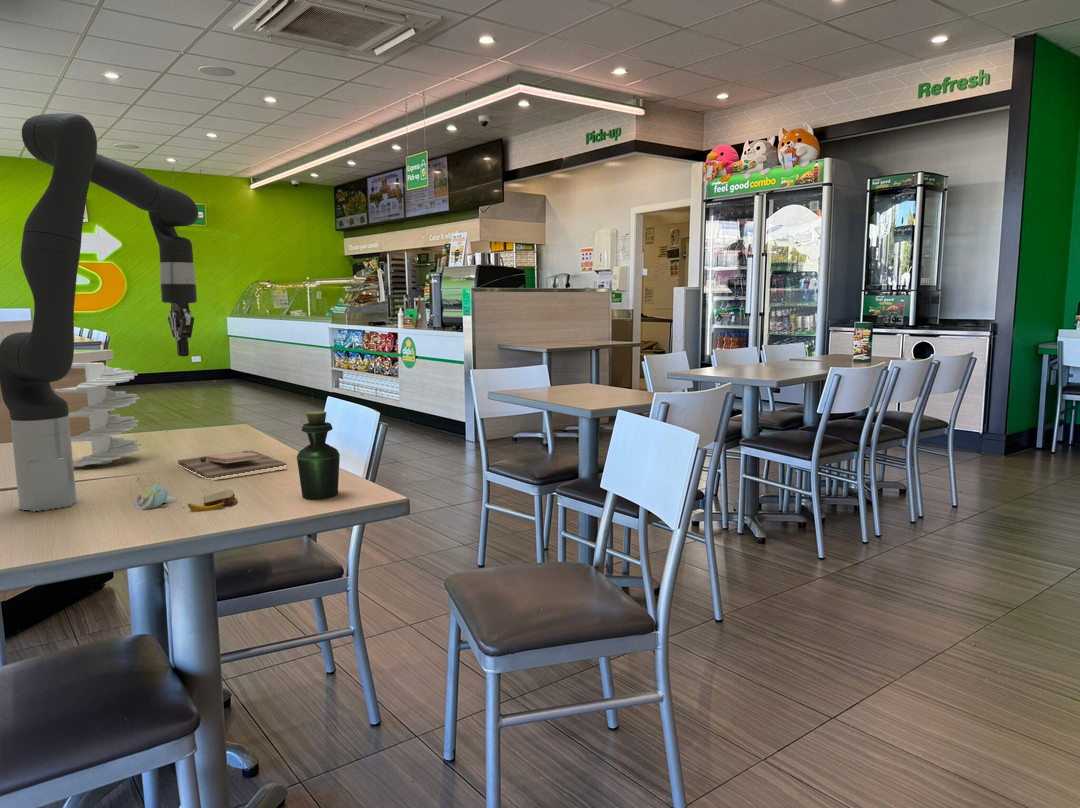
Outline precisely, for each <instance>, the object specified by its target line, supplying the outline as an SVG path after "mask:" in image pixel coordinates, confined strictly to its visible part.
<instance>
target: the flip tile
mask: <svg viewBox="0 0 1080 808" xmlns="http://www.w3.org/2000/svg"><path fill="white" fill-rule="evenodd" d="M237 452H238V453H235V452H230V454H228V453H222V454H223V455H220V454H215V456H213V455H207V456H208V457H207V458H208V461H213V462H220V463H232V462H239V461H246V460H253V459H260V458H261V455H260V454H254V453H245V452H242V451H237Z"/></svg>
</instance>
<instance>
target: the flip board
mask: <svg viewBox="0 0 1080 808" xmlns="http://www.w3.org/2000/svg"><path fill="white" fill-rule="evenodd" d="M238 452H239V451H237V452H236V451H235V452H234V453H238ZM241 452H245V453H254V454H260V455H261V458H260V459H253V460H246V461H239V462H232V463H220V462H213V461H208V458H207V457H208V456H209V455H207V456H205V455H204V456H198V457H191V458H185V459H177V463H178V464H179V465H181V466H183V467H185V468H187V469H189V470H191V471H193V472H196V473H197V474H200V475H201V476H204V477H206V478H215V477H221V476H226V475H233V474H239V473H245V472H250V471H255V470H261V469H267V468H273V467H279V466H284V465H287V466H288V463H286V462H284V461H281V460H278V459H277V458H273V457H271V456H268V455H266V454H263V453H260V452H258V451H256V450H243V451H241ZM230 453H231V452H230ZM230 453H227V454H230ZM223 454H224V453H222V454H219V455H223ZM215 455H216V454H215ZM215 455H212V456H215Z"/></svg>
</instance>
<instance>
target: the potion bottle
mask: <svg viewBox="0 0 1080 808" xmlns="http://www.w3.org/2000/svg"><path fill="white" fill-rule="evenodd" d="M327 413H328V412H327V411H326V410H325V411H324V410H323V411H321V410H315V411H314V410H312V411H307V412H306V413H305V414H306V418H307V421H308V422H307V423H304V424H302V427H301V432H302V433H306V434H307V438H308V441H309V444H308V445H307V446H305V447H304V448H302V449H300V450H299V451H298V452H297V455H296V461H297V469H298V477H299V483H300V489H301V496H302V498H303V499H305V500H309V501H318V500H321V501H322V500H328V499H331V498H334V497H337V496H338V495H339V479H340V478H339V477H340V476H339V475H340V461H341V458H340V457H341V454H340V452H339V450H338V449H337V448H336V447H334V446H331V445H330V444H328V443H326V440H327V436H328V433H329V432H330V431H332V430H334V428H333V426H332V423H331V422H326V419H327V418H326V417H327Z"/></svg>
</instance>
